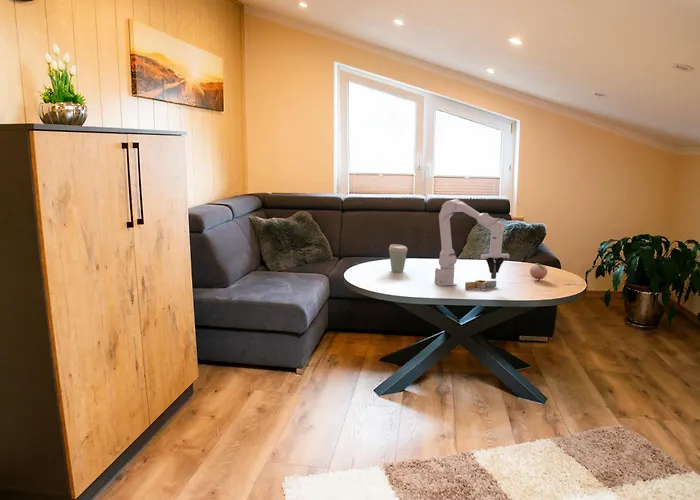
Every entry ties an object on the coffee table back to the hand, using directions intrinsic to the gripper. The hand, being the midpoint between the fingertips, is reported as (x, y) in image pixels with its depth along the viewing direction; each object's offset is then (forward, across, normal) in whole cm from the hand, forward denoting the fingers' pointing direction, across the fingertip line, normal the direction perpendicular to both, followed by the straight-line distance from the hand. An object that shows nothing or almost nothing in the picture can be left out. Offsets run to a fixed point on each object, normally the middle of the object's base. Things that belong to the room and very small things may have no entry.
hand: (493, 272), depth 275 cm
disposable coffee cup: (+10, -34, +48) cm, 60 cm away
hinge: (+10, -3, +7) cm, 13 cm away
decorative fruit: (+10, +35, +16) cm, 40 cm away
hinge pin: (+3, 0, 0) cm, 3 cm away
